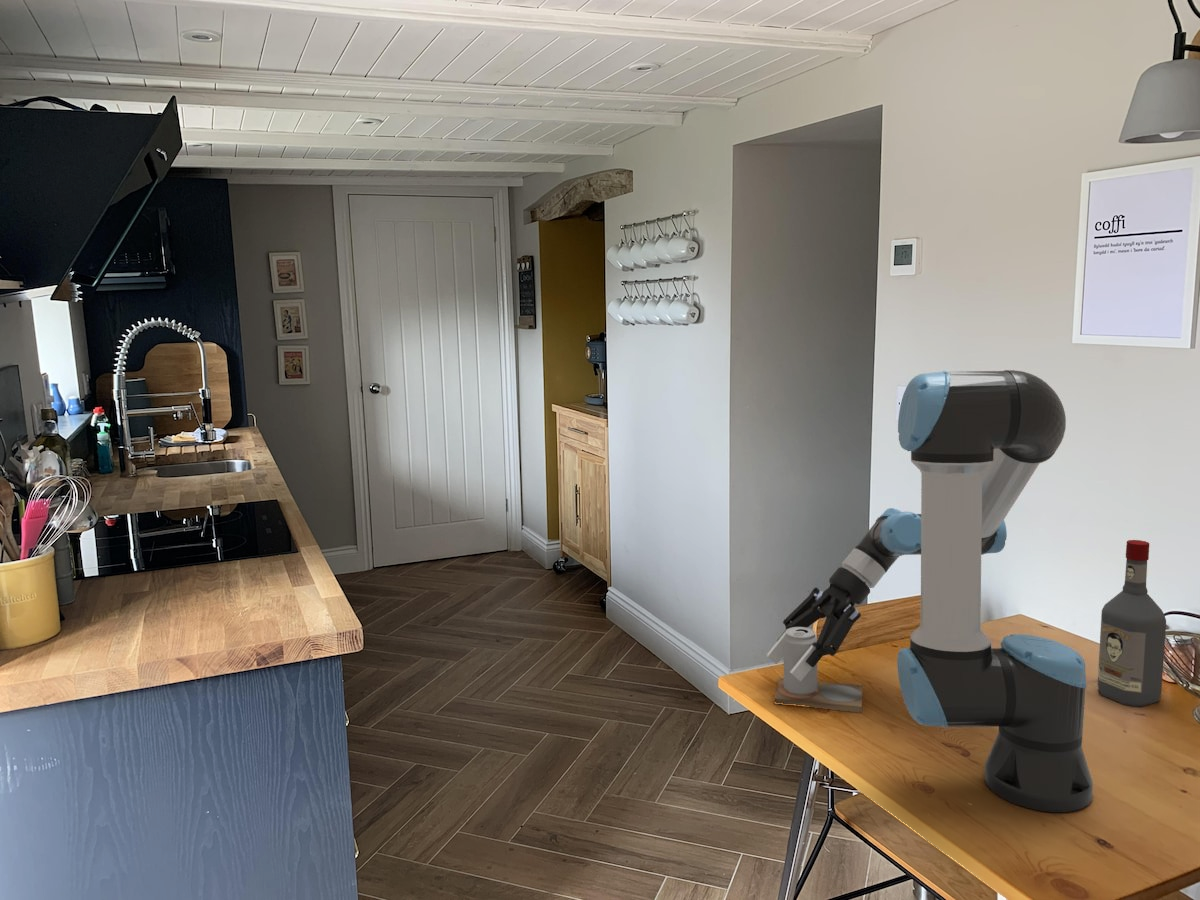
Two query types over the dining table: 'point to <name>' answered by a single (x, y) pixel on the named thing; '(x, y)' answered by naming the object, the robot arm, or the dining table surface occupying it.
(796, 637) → the beverage can
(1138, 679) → the liquor
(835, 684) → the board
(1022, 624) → the dining table surface
